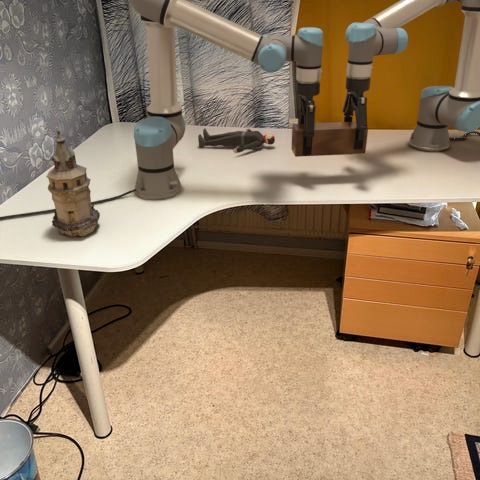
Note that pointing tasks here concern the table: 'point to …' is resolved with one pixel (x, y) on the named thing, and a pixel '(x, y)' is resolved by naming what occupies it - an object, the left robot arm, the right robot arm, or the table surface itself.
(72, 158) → the miniature building
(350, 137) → the box
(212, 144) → the toy
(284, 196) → the table surface
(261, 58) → the left robot arm
